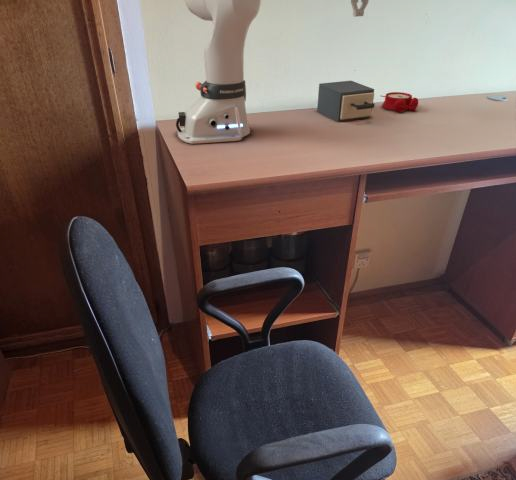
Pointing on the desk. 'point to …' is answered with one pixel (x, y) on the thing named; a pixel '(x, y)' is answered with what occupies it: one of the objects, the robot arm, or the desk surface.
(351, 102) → the drawer
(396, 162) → the desk surface
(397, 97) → the alarm clock
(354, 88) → the cabinet
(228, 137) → the robot arm
